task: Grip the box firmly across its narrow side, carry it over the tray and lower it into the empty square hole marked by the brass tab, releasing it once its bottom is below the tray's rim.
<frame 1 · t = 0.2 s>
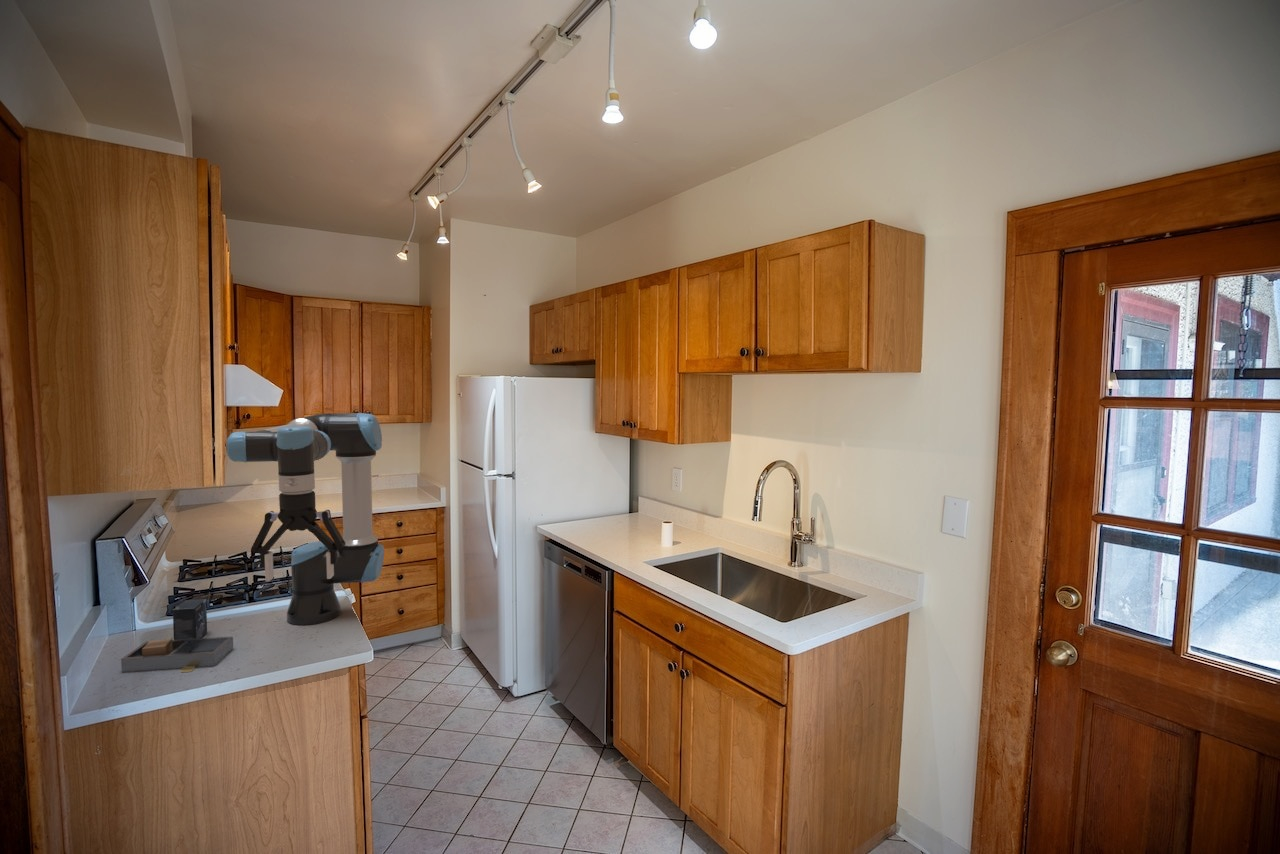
hand: (300, 578, 149), 28 cm above the worktop, fingers open, 13 cm apart
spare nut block: (158, 661, 165), resting in tray
tray: (180, 659, 166), on the worktop
box: (191, 639, 179), on the worktop
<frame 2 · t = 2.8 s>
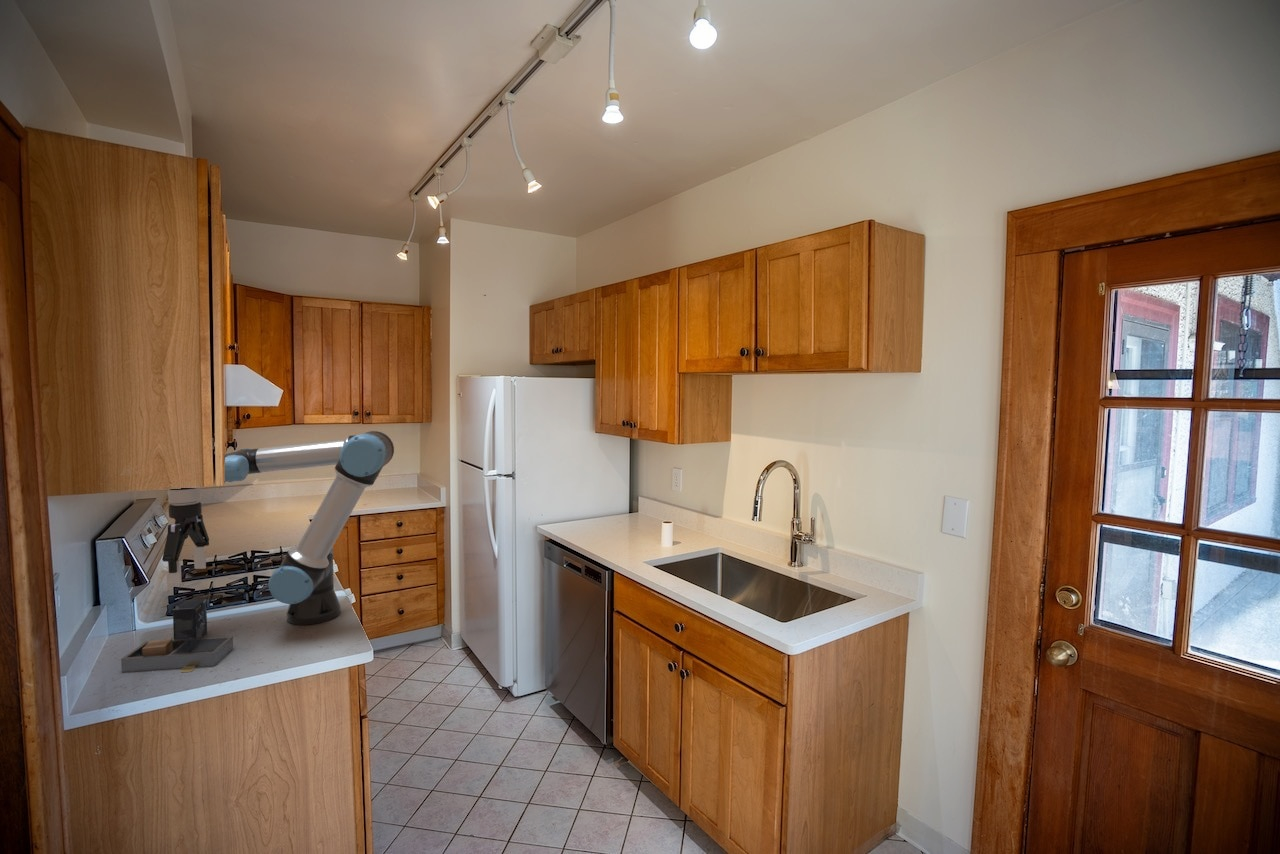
hand: (188, 575, 177), 19 cm above the worktop, fingers open, 13 cm apart
nothing on the worktop moved.
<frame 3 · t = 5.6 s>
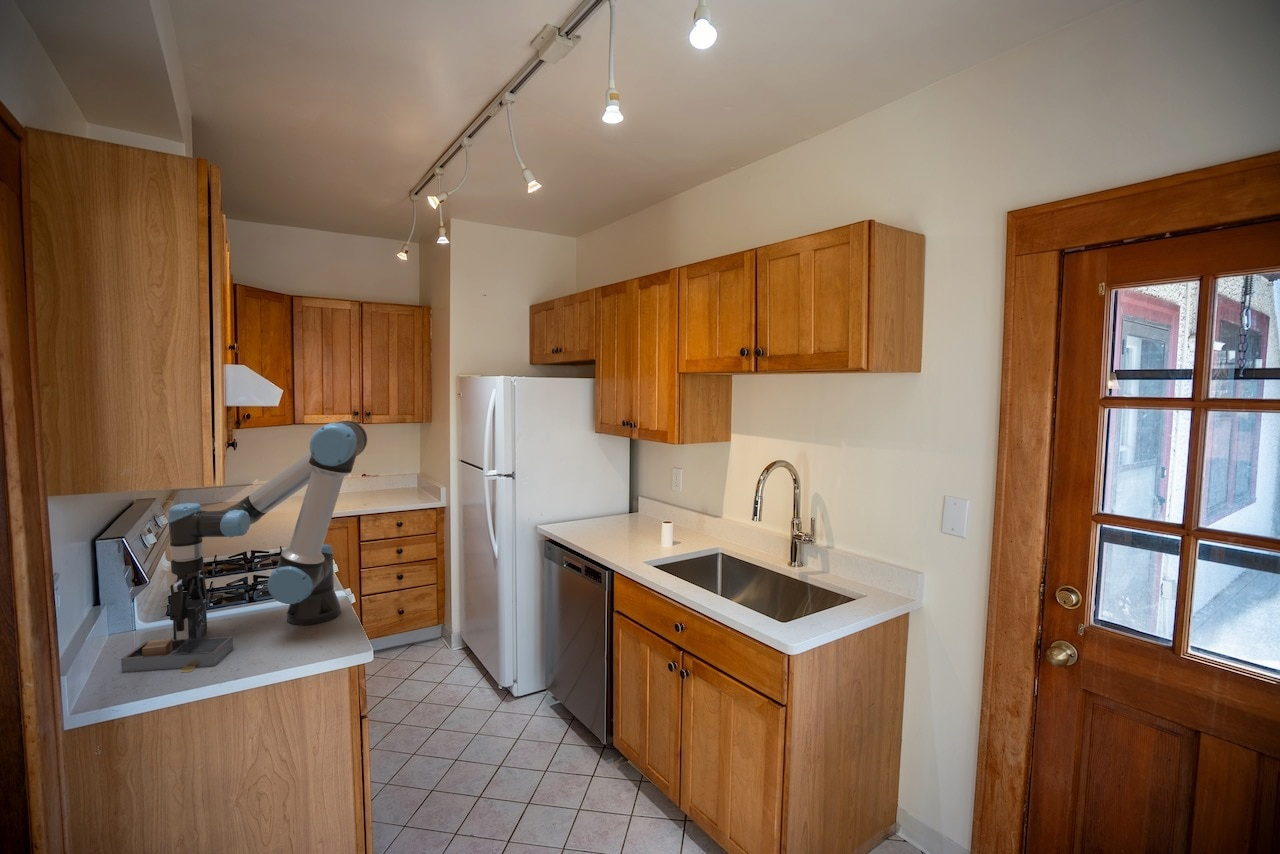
hand: (190, 634, 179), 1 cm above the worktop, fingers closed on box, 8 cm apart
box: (191, 639, 179), on the worktop, touching gripper
everything else where it was.
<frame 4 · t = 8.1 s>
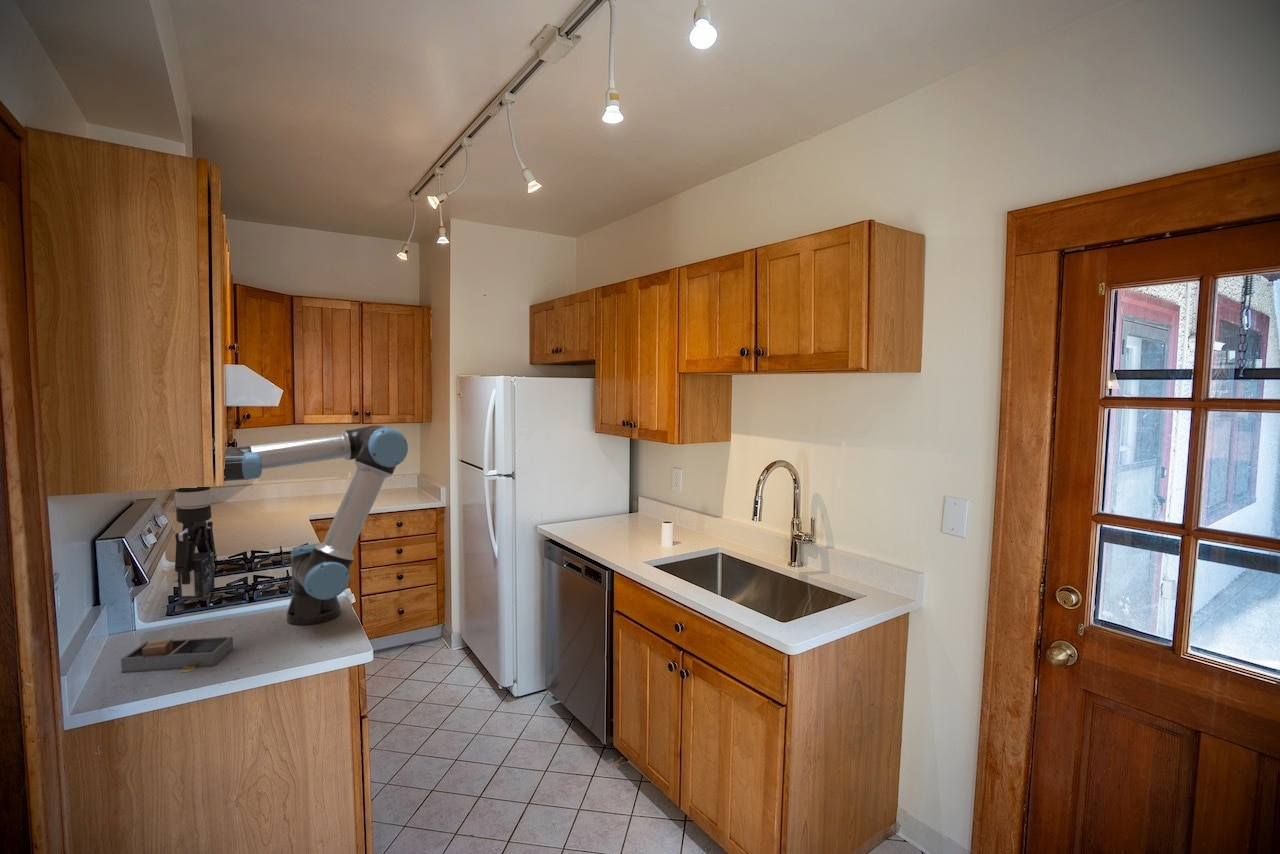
hand: (197, 589, 166), 19 cm above the worktop, fingers closed on box, 8 cm apart
box: (197, 595, 166), point 18 cm above the worktop, touching gripper
everything else where it was.
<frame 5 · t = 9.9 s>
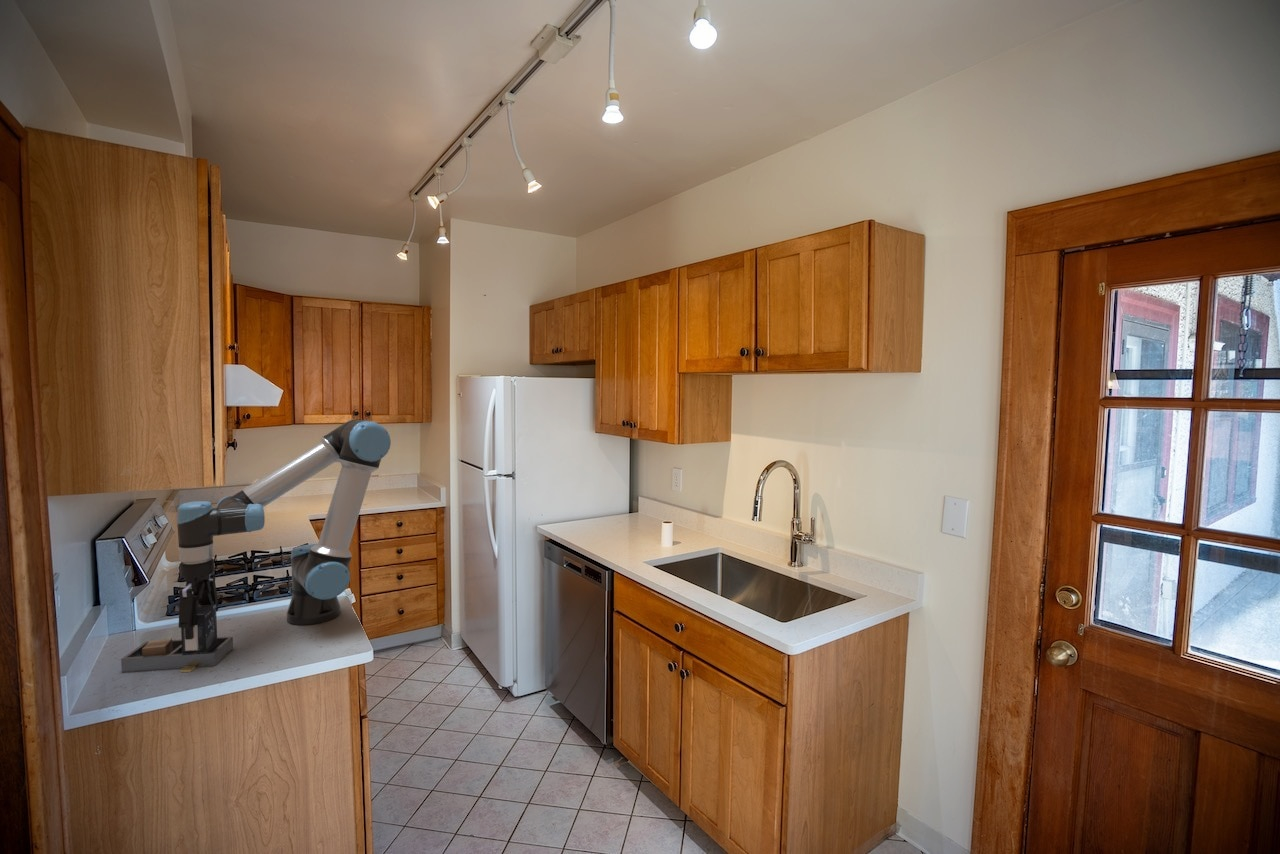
hand: (200, 642, 167), 4 cm above the worktop, fingers closed on box, 8 cm apart
box: (200, 648, 167), point 3 cm above the worktop, touching gripper
everything else where it was.
when the fingers open (4 cm above the worktop, at t = 11.0 s): box drops 3 cm, resting in tray.
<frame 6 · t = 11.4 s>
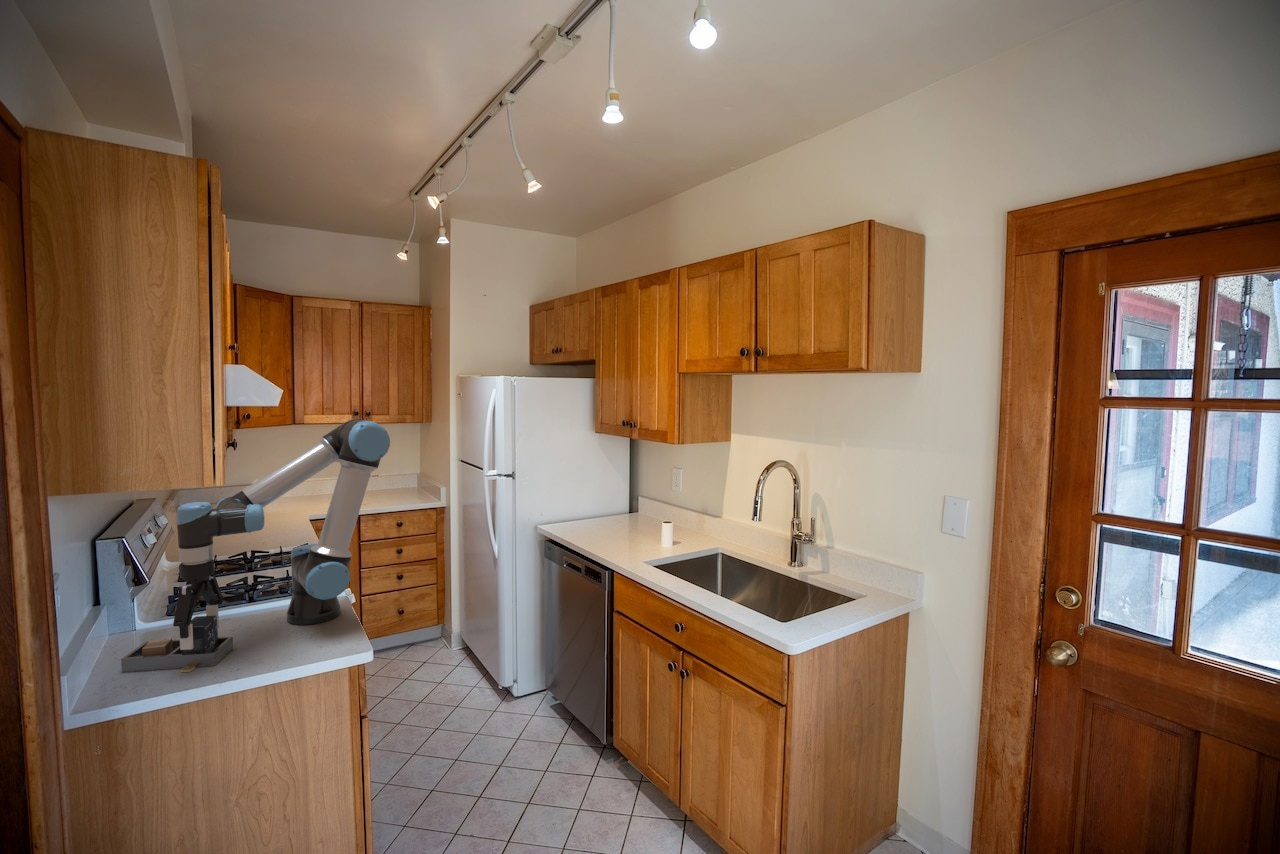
hand: (200, 638, 167), 6 cm above the worktop, fingers open, 13 cm apart
box: (200, 659, 167), resting in tray
everything else where it was.
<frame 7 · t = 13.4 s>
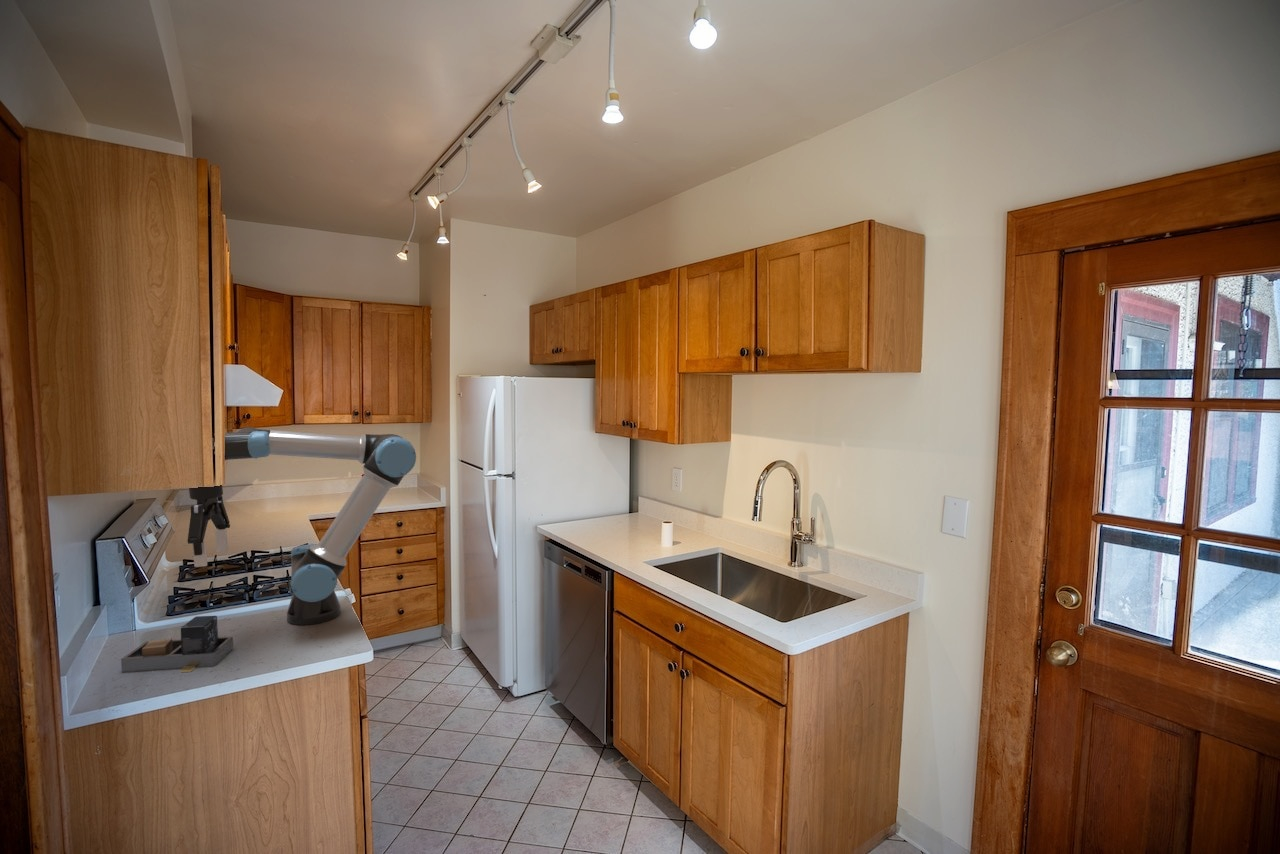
hand: (212, 558, 171), 26 cm above the worktop, fingers open, 13 cm apart
nothing on the worktop moved.
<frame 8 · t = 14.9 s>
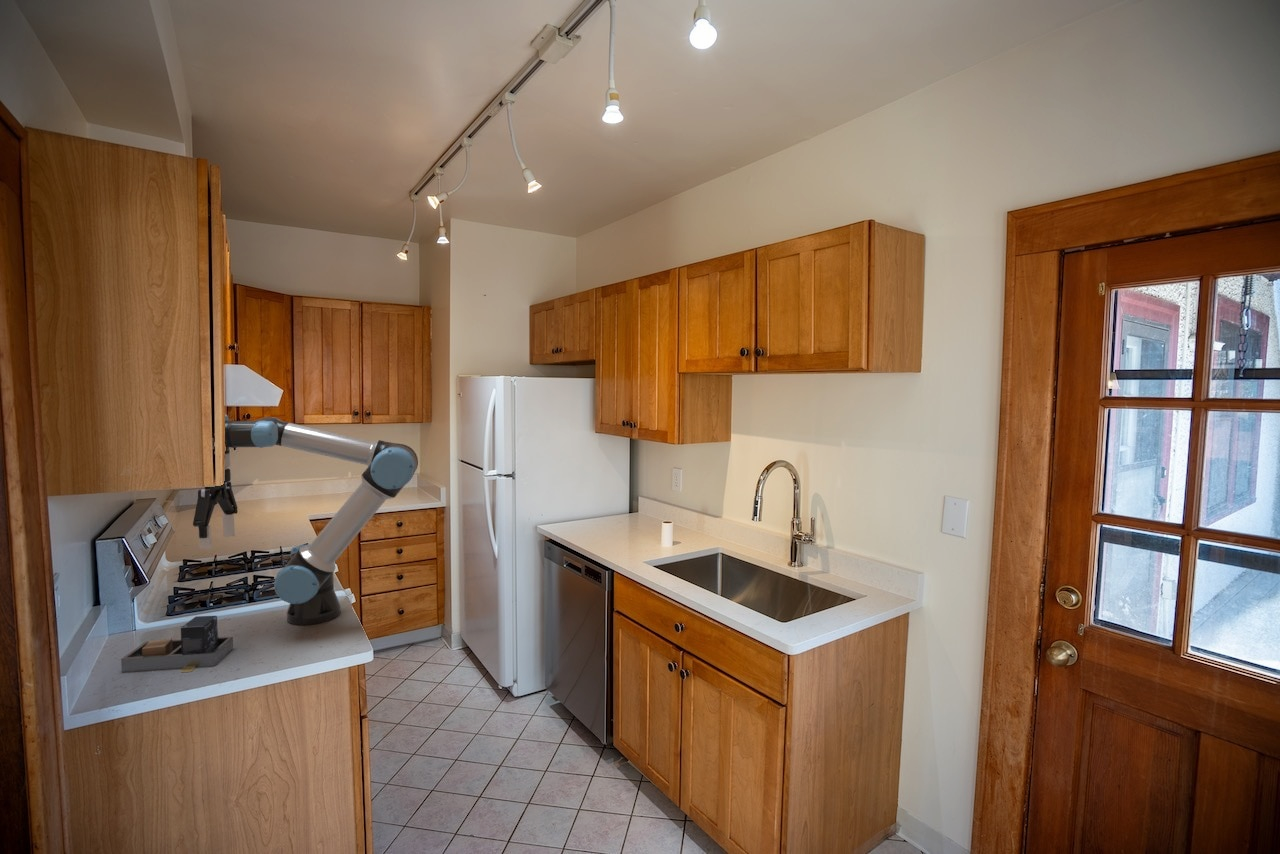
hand: (217, 542, 176), 29 cm above the worktop, fingers open, 13 cm apart
nothing on the worktop moved.
at the end: box inside the target area on the tray (0.2 cm from its centre), point 0.0 cm above the tray's base; box tilted 0°; the gripper is holding nothing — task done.
